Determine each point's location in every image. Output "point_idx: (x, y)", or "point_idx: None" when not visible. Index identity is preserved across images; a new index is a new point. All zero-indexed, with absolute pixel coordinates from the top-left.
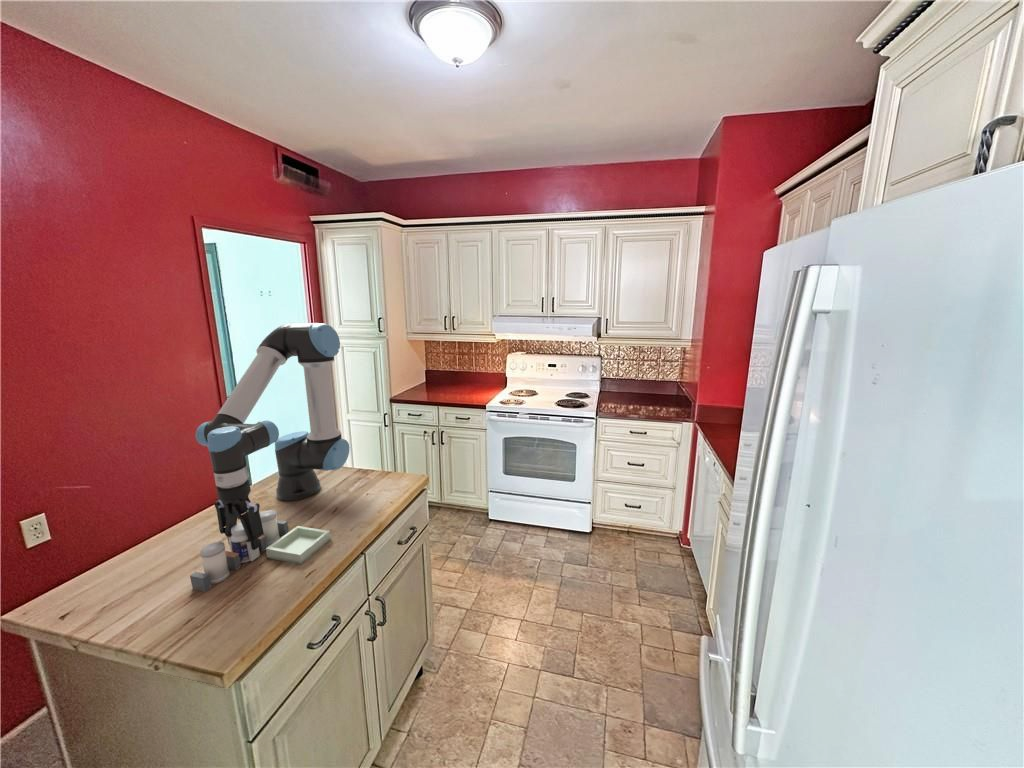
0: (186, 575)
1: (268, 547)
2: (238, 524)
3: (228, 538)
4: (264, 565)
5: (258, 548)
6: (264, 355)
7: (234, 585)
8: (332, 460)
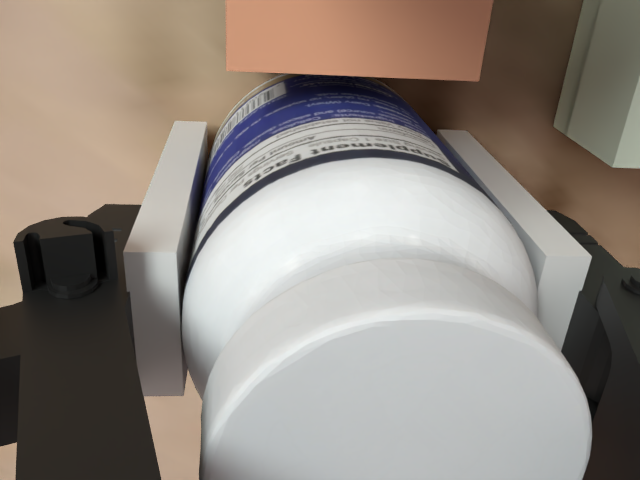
0: (10, 459)
1: (636, 139)
2: (249, 433)
3: (144, 385)
4: (597, 226)
5: (499, 167)
6: None
7: None
8: None
